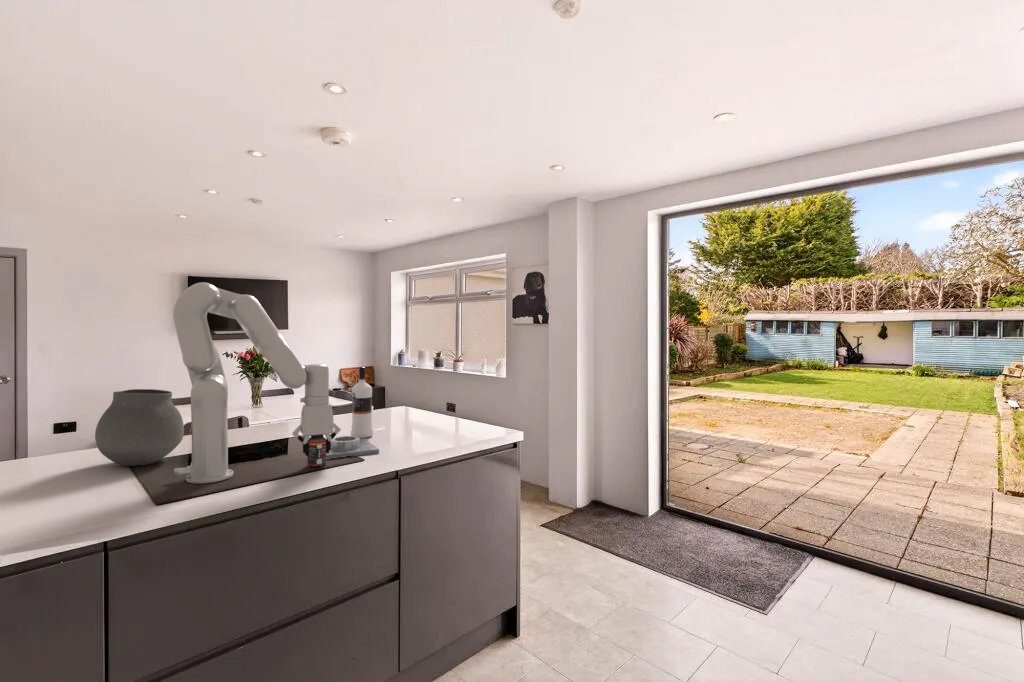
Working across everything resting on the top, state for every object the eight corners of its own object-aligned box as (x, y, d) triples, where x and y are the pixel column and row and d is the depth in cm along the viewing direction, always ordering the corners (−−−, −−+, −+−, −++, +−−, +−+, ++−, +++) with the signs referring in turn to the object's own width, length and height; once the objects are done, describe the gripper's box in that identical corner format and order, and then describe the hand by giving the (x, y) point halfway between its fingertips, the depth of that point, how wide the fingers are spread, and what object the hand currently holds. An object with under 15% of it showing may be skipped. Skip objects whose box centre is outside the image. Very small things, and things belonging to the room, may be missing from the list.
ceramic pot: (182, 466, 166) (181, 392, 166) (87, 477, 154) (86, 396, 153) (185, 451, 187) (185, 384, 187) (103, 459, 175) (102, 387, 174)
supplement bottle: (324, 467, 167) (324, 433, 167) (305, 468, 166) (305, 434, 166) (327, 462, 173) (327, 430, 173) (309, 463, 172) (309, 430, 172)
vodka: (375, 437, 214) (376, 367, 213) (354, 439, 209) (354, 368, 208) (369, 433, 222) (369, 365, 221) (348, 435, 217) (348, 366, 216)
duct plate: (322, 460, 176) (322, 447, 176) (312, 448, 194) (312, 436, 193) (379, 453, 187) (379, 441, 187) (364, 442, 204) (364, 431, 204)
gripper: (290, 404, 161) (290, 459, 162) (345, 400, 170) (345, 453, 171) (287, 401, 168) (287, 454, 168) (340, 397, 177) (340, 448, 177)
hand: (316, 453), depth 170 cm, fingers closed on supplement bottle, 6 cm apart
